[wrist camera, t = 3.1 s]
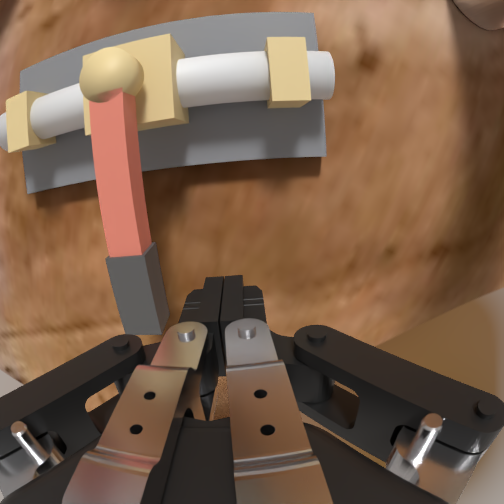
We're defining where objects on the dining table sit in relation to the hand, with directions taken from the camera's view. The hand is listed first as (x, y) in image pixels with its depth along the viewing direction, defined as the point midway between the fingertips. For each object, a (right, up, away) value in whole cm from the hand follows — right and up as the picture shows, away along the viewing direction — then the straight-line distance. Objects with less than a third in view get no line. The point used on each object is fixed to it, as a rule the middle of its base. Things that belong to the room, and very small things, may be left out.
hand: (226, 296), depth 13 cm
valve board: (-7, +14, +9) cm, 18 cm away
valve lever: (-6, +5, +4) cm, 9 cm away
